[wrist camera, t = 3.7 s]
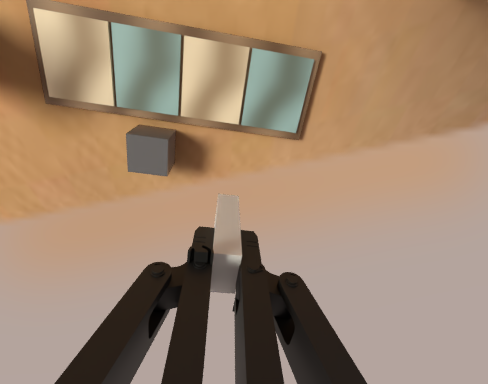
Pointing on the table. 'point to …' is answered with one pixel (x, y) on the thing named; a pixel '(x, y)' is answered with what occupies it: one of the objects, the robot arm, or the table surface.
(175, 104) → the track
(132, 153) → the cube
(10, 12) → the table surface
